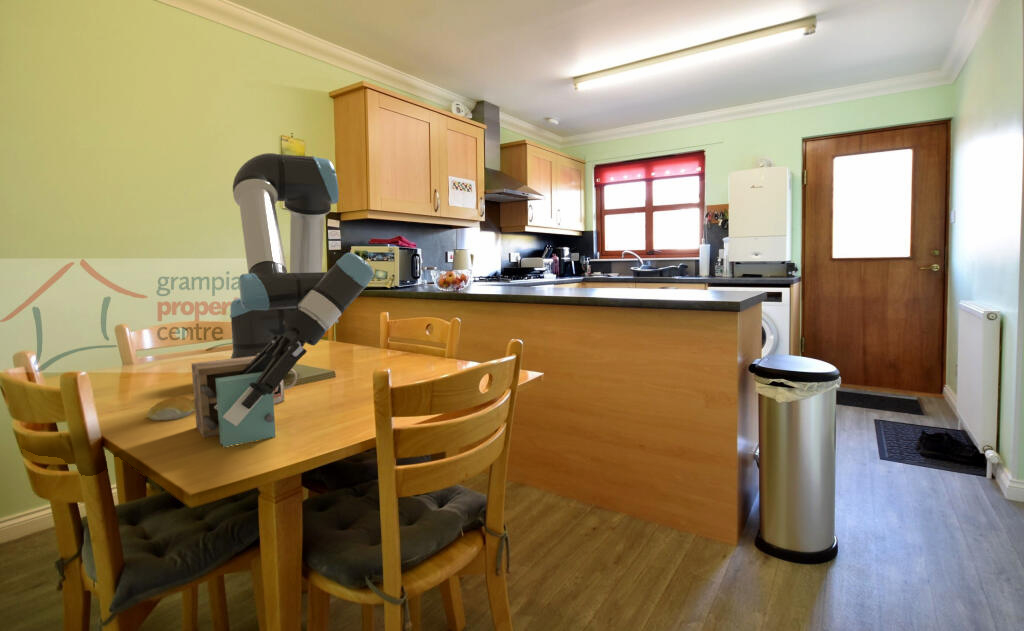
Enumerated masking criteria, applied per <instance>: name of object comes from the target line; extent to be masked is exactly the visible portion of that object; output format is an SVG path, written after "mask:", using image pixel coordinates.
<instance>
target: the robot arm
mask: <svg viewBox="0 0 1024 631" xmlns="http://www.w3.org/2000/svg"><path fill="white" fill-rule="evenodd" d="M335 169H336V168H335V166H334V164H333V163H332V161H330V159H329V158H323V157H317V156H314V155H312V156H309V155H294V154H280V153H279V154H278V153H273V152H272V153H269V152H267V153H266V152H265V153H261V154H257V155H255V156H253V157H252V158H250V159H249V160H247V161H246V162H244V163H243V164H242V166H240V168H239V169H238V171H237V172H236V174H235V176H234V179H233V182H232V183H233V184H232V194H233V199H234V202H235V203H236V204H237V206H239V211H240V220H241V228H242V234H243V242H244V243H243V244H244V250H245V258H246V265H247V273H243V274H241V275H240V276H239V281H238V282H239V294H240V295H239V296H240V297H239V298H236V299H233V300H232V301H231V302H230V307H229V308H230V313H229V314H230V315H229V318H230V321H231V322H230V323H231V337H232V338H231V340H232V342H231V343H232V353H231V356H230V359H233V358H242V357H250V356H256V357H255V358H254V359H253V360H252V361H251V362H250V363H249V364H248V365H247V366H246V368H245V369H244V370H243V371H241V373H240V375H244V374H251V373H259V372H263V373H262V374H261V376H260V377H259V378H258V380H257V381H256V383H254V382H252V383H250V384H249V386H251V387H252V388H251V387H249V388H248V389H247V390H246V391H245V392H244V393H243V395H242V396H241V397H240V398H239V399H238V400H237V401H236V402H235V403H234V405H233V406H232V407H231V408H230V409H229V410H228V411H227V412H226V414H225V415H224V416H223V418H225V419H226V420H228V421H229V422H231V423H232V424H234V425H235V426H237V425H238V424H239V423H240V422H241V421H242V419H243V418H244V417H245V416H246V415H247V414H248V413H249V411H250V410H251V409H252V408H253V407H254V406H255V405H256V403H257V402H258V401H259V400H260V399H261V398H262V397H263V395H266V394H267V393H268V394H269V395H270V394H272V393H273V391H274V390H275V389H276V387H277V386H278V385H279V384H280V382H281V381H282V380H283V381H284V379H285V378H286V377H287V375H288V374H289V373H290V372H289V371H290V370H291V369H293V368H294V366H295V365H296V364H297V363H298V361H299V360H301V358H302V357H303V356H304V355H306V353H307V350H306V349H305V348H304V346H305V344H308V345H310V346H316V345H317V344H318V343H319V342H320V340H321V339H322V338H323V337H324V336H325V334H326V332H327V331H328V330H329V329H330V328H331V327H332V326H333V325H334V324H338V323H339V318H340V317H341V316H342V315H343V313H345V311H346V309H348V307H349V306H350V305H351V304H352V303H353V302H354V300H356V299H357V298H358V297H359V295H360V294H361V293H362V292H363V290H364V289H367V287H368V285H369V283H371V281H372V280H373V278H374V276H375V275H374V274H375V273H374V270H373V269H372V267H371V266H370V264H369V263H368V262H367V261H366V260H364V259H363V258H362V257H361V256H359V255H357V254H356V253H352V252H345V253H344V254H343V255H342V256H341V257H340V258H339V259H337V260H336V262H335V263H334V265H332V266H331V267H330V269H329V270H328V271H325V272H324V271H323V254H324V235H325V234H324V232H325V216H326V215H328V214H329V213H331V210H332V205H335V204H337V203H338V202H339V197H340V196H339V184H338V177H337V173H336V170H335ZM277 202H283V205H284V207H285V210H287V211H288V212H289V213H290V223H289V224H290V225H289V229H290V232H289V235H290V237H289V239H290V240H289V272H288V270H287V262H286V257H285V252H284V247H283V241H282V237H281V236H282V235H281V231H280V226H279V221H278V215H277V209H276V203H277ZM258 353H259V354H258ZM257 354H258V355H257ZM253 388H254V389H253ZM214 408H215V409H216V410H218V407H217V405H216V406H215V407H214Z"/></svg>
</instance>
